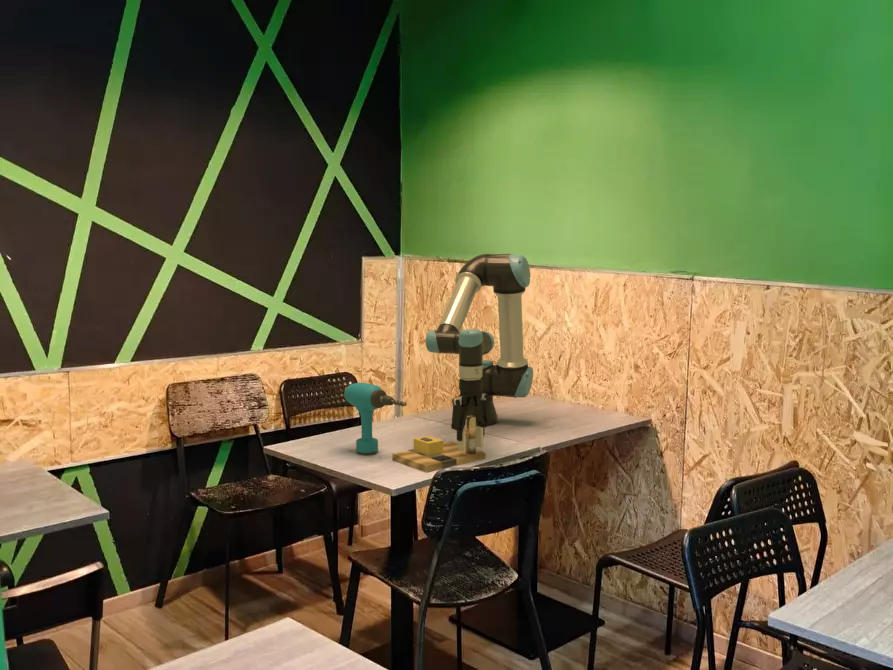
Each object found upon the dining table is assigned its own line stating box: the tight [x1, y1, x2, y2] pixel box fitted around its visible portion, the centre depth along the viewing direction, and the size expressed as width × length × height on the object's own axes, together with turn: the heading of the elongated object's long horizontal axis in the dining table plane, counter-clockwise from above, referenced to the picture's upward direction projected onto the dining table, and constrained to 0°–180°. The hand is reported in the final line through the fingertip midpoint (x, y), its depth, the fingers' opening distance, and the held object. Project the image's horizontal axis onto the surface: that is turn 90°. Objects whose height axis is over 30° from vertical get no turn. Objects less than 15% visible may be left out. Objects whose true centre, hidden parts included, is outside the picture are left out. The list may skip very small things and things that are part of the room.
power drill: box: [343, 382, 408, 456], centre depth 277 cm, size 28×9×23 cm, turn 48°
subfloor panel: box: [391, 440, 486, 473], centre depth 274 cm, size 18×24×2 cm
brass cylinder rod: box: [464, 415, 477, 454], centre depth 273 cm, size 3×3×12 cm
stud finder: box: [413, 435, 444, 456], centre depth 276 cm, size 8×6×4 cm
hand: (470, 448), depth 274 cm, fingers open, 7 cm apart
